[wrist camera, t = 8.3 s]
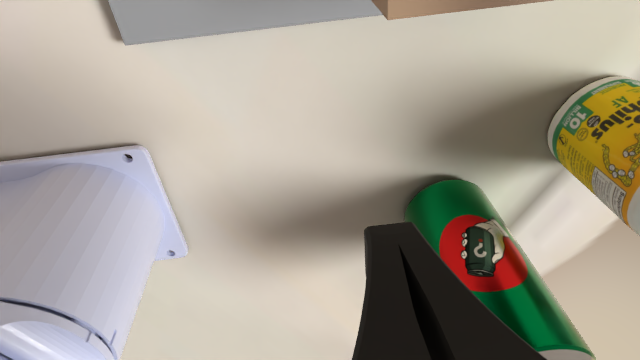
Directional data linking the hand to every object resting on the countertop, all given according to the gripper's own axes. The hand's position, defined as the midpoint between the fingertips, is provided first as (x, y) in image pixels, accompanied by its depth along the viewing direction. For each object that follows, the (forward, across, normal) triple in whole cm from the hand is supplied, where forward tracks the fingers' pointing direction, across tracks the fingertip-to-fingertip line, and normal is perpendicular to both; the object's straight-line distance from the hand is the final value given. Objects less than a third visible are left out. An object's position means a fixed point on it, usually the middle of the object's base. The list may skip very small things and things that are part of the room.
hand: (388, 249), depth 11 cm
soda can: (+11, -6, +8) cm, 15 cm away
